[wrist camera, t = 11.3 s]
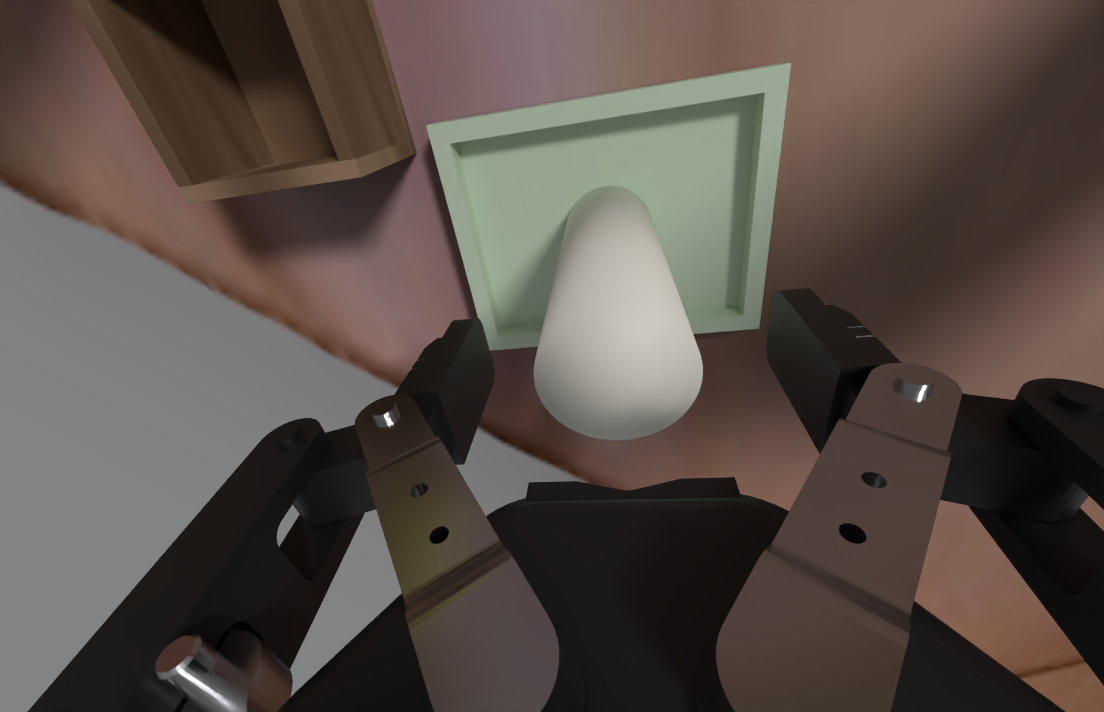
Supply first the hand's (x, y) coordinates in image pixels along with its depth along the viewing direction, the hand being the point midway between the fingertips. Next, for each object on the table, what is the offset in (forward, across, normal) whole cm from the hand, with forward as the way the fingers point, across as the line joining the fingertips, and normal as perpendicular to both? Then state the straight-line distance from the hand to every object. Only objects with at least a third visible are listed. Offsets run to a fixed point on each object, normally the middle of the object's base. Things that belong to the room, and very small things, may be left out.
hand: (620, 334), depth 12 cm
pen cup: (+10, +12, -8) cm, 18 cm away
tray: (+10, 0, 0) cm, 10 cm away
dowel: (+10, 0, 0) cm, 10 cm away
